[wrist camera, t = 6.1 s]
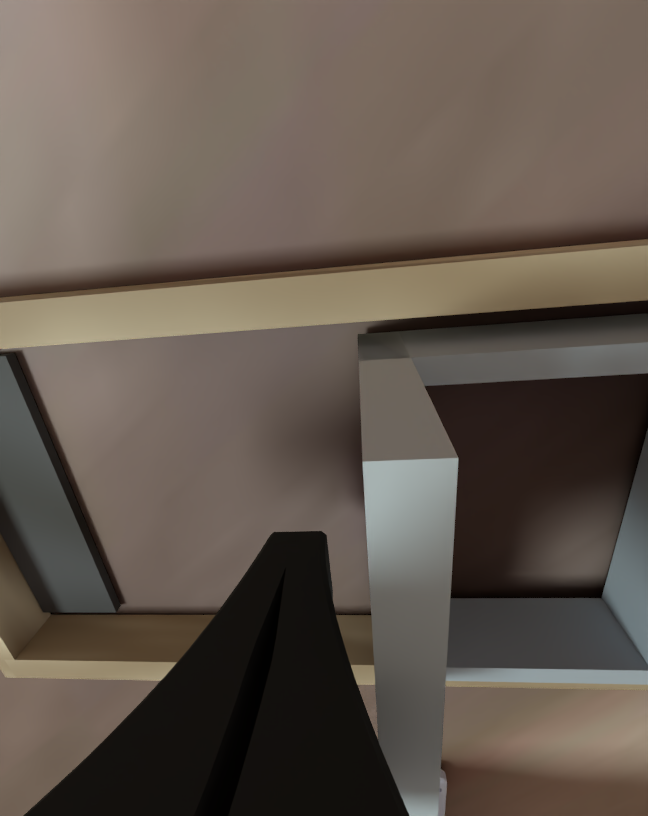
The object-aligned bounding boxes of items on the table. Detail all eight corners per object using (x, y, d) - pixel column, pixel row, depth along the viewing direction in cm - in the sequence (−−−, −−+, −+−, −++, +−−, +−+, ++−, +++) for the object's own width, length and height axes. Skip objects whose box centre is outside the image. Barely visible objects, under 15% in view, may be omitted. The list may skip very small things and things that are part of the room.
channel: (673, 639, 13) (742, 726, 11) (43, 635, 16) (-11, 704, 13) (846, 211, 8) (1049, 199, 6) (-141, 302, 11) (-285, 321, 8)
